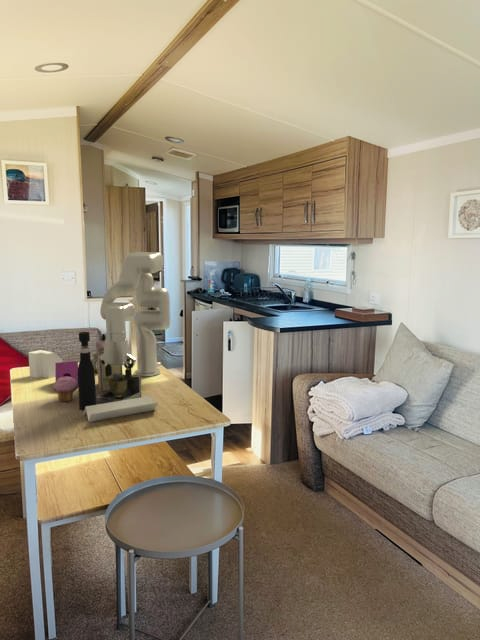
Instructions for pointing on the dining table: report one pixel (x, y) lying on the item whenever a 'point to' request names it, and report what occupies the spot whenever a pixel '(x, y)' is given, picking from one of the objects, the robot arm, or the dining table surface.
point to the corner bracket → (43, 363)
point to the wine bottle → (86, 374)
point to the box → (102, 378)
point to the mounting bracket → (67, 370)
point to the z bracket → (119, 408)
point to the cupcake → (65, 388)
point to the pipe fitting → (94, 361)
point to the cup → (118, 386)
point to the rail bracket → (130, 393)
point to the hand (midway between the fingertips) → (118, 377)
